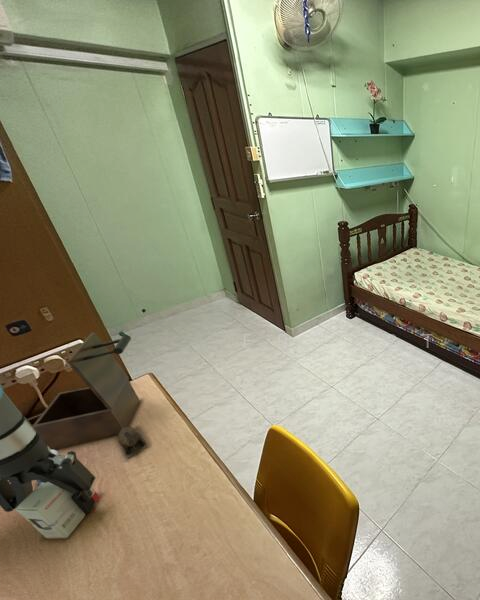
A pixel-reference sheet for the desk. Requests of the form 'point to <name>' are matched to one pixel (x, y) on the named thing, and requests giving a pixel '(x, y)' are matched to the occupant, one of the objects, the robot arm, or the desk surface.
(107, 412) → the chest
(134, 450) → the figurine
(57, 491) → the ink box
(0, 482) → the robot arm
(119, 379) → the lid
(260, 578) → the desk surface
